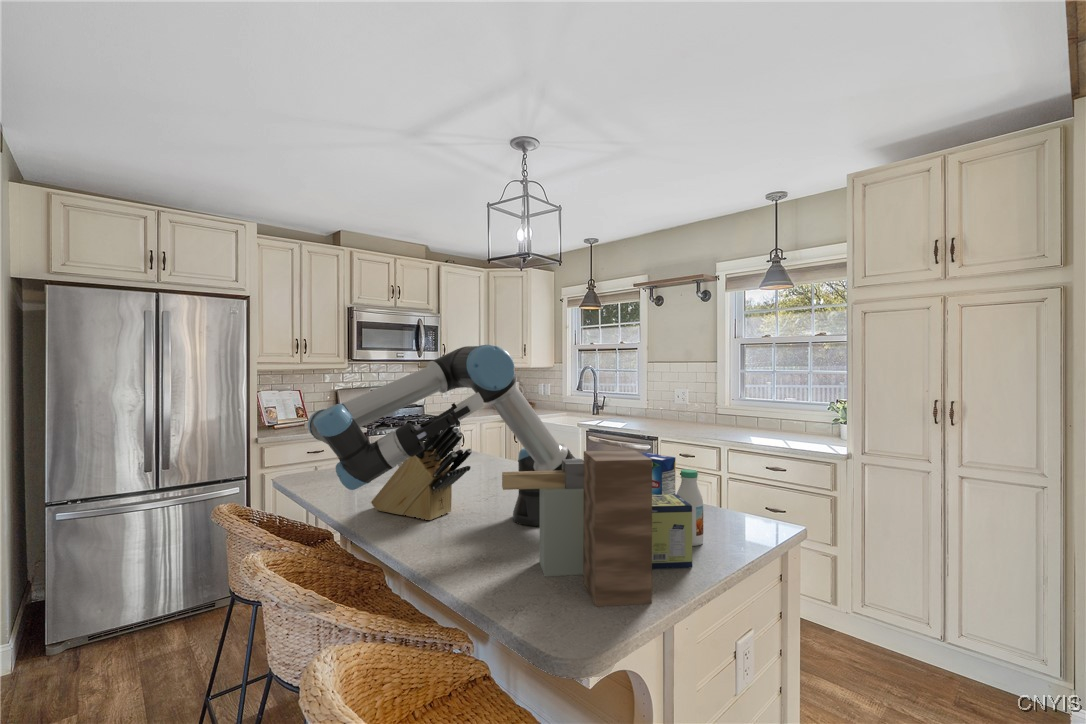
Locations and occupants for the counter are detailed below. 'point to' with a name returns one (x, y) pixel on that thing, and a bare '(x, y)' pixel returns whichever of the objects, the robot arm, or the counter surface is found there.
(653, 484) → the beverage box
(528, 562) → the counter surface
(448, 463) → the knife block
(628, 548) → the stand
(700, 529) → the milk bottle
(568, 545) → the grey-green rectangular block
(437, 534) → the counter surface
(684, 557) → the protein box
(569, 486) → the mallet
